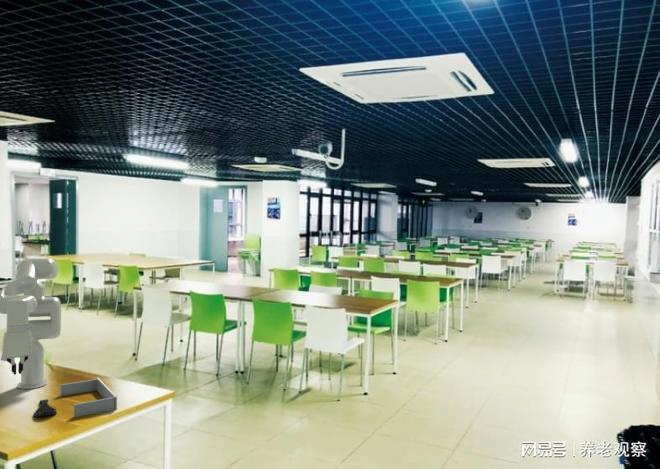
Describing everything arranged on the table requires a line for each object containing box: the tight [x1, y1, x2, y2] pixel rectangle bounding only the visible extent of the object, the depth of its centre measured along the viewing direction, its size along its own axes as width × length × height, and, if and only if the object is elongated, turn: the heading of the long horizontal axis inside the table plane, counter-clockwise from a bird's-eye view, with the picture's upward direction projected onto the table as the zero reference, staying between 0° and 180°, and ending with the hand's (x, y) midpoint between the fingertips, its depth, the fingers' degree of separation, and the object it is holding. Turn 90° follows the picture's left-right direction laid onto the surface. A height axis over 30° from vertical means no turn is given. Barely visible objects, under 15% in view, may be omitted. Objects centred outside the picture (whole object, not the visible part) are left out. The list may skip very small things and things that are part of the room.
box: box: [59, 377, 118, 418], centre depth 222 cm, size 32×16×6 cm, turn 37°
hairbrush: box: [33, 398, 57, 418], centre depth 212 cm, size 8×4×25 cm
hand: (17, 373), depth 205 cm, fingers closed
